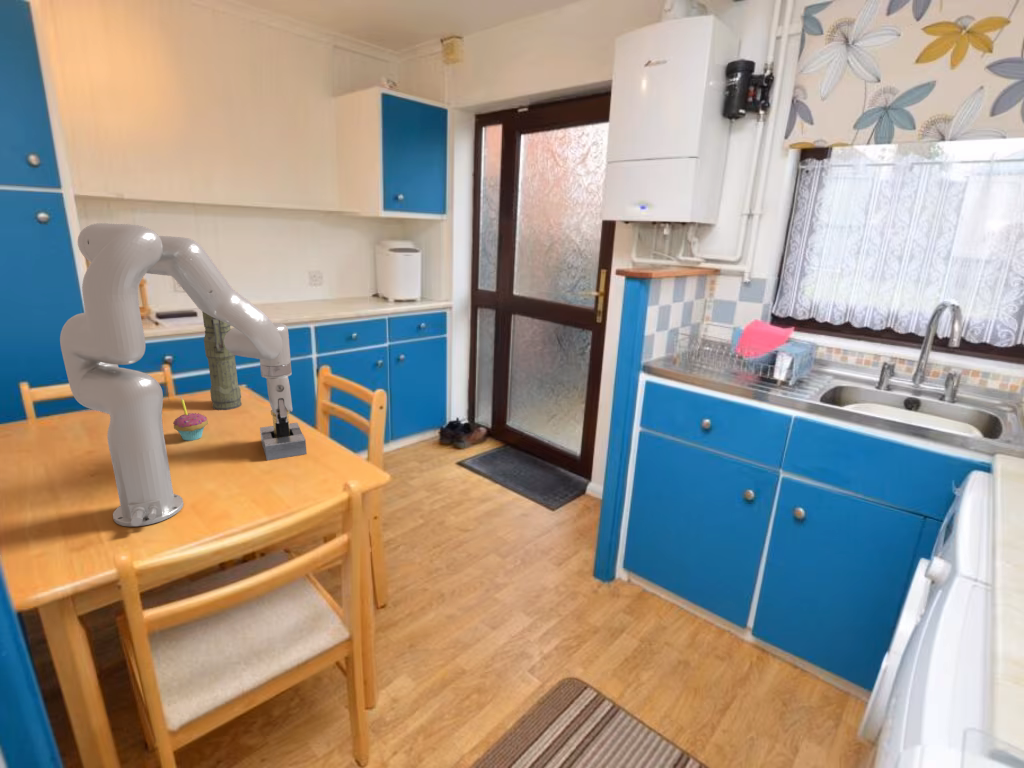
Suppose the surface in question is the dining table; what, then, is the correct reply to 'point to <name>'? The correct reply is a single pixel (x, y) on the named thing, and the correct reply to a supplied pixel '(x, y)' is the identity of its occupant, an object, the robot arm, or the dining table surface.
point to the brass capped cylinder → (276, 422)
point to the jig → (283, 443)
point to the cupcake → (190, 424)
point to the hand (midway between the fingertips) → (281, 432)
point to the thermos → (221, 365)
